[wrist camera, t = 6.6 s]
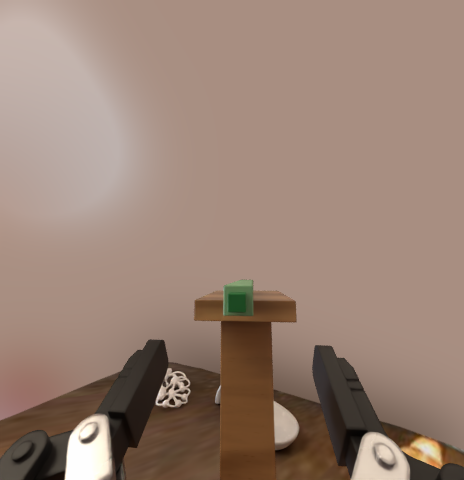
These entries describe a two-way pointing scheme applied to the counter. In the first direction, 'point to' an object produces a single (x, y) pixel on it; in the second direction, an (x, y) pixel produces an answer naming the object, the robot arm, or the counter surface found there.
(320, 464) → the counter surface
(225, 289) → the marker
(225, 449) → the wooden pedestal stand
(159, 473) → the counter surface
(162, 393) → the tangled rod sculpture
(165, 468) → the counter surface
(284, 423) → the spoon rest
